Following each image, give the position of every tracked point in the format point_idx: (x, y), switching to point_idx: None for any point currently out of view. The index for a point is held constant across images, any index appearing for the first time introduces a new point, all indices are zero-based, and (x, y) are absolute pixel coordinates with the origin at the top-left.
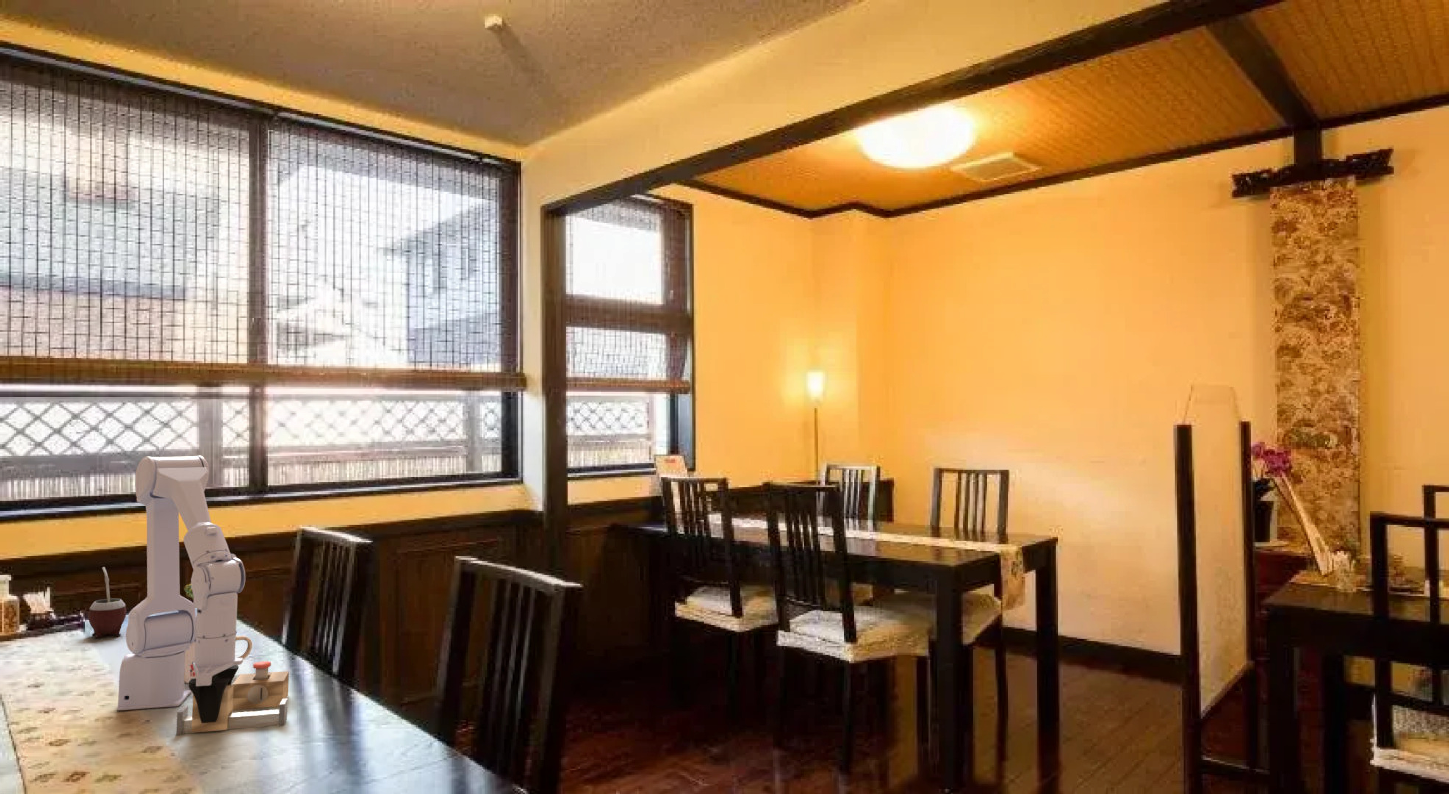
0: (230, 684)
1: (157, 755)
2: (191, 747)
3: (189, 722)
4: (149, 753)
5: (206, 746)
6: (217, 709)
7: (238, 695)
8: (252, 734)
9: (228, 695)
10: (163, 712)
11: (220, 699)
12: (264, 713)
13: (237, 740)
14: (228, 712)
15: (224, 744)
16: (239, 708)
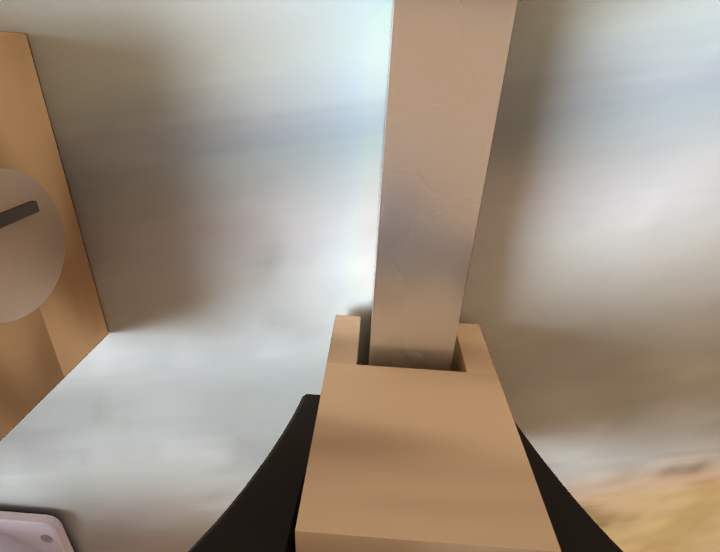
0: (236, 539)
1: (660, 508)
2: (637, 424)
3: None
4: (615, 528)
5: (666, 374)
6: (549, 473)
7: (40, 360)
8: (600, 175)
9: (524, 509)
10: (124, 539)
11: (615, 544)
12: (469, 135)
13: (667, 248)
14: (457, 383)
15: (694, 303)
16: (95, 304)
